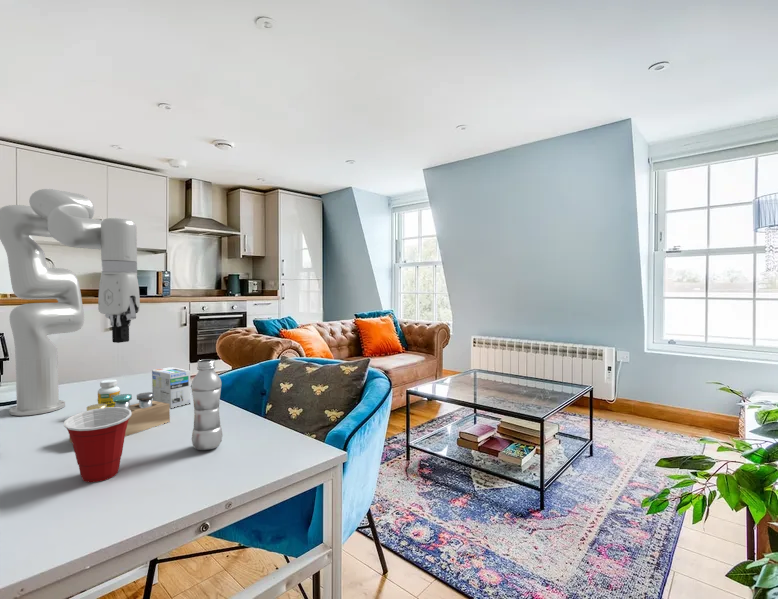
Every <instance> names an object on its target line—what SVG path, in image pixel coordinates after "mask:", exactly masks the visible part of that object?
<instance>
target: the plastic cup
mask: <svg viewBox="0 0 778 599" xmlns="http://www.w3.org/2000/svg"><path fill="white" fill-rule="evenodd" d="M131 415H132V413H131V410H129V409H127V408H121V407H106V408H99V409H92V410H89V411H87V410H85V411H81V412H79V413H75V414H74V415H72V416H70V417H68V418H66V419H65V420H64V421H63V427H64V428H65V429H66V430H67V432H68V434H70V437H71V439H72V443H71V444H72V447H73V450H74V454H75V459H76V464H77V465H78V469H79V473H80V477H81V479H82V481H83V482H85V483H98V482H103V481H105V480H109V479H111V478H113V477H115V476H117V474H118V473H119V470H120V465H121V459H122V456H123V450H124V444H125V437H126V436H125V432H126V429H127V424H128V420H129V418H130V417H131Z"/></svg>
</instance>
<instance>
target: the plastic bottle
mask: <svg viewBox="0 0 778 599" xmlns="http://www.w3.org/2000/svg"><path fill="white" fill-rule="evenodd" d="M215 361H216V360H215V359H207V358H206V359H201V360H200V359H199V360H197V366H196V370H198V371H197V373H196V375H195V376H194V377H193V379H192V381H191V383H190V389H191V393H192V394H191V396H192V400H193V408H194V409H193V413H194V414H193V415H194V416H193V428H192V432H191V444H192V446H193V448H194V449H195V450H197V451H208V450H213V449H216V448H218V447H219V446H220V445H221V443H222V441H223V440H222V439H223V436H224V434H223V428H222V425H221V416H220V403H221V402H220V401H221V400H220V399H221V392H222V379H221V377H220V376H219V375H218V373H217V372H216V371H215V369H216V362H215Z"/></svg>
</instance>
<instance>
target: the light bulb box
mask: <svg viewBox="0 0 778 599" xmlns="http://www.w3.org/2000/svg"><path fill="white" fill-rule="evenodd" d="M151 382H152V383H151V387H152V389H151V390H152V393H154V398H152V400H153V401H158V402H163V403H168V404H169V405H170V408H172V409H174V407H175V408H178V407H177V406H179V407H182V406H181V405H183V406H186V405H185V404H187V405H190V404H189V403H191V404H192V394H191V393H192V389H191V369H190V370H189V369H183V368H178V367H173V366H169V367H163V368H156V369H151Z"/></svg>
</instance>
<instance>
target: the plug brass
mask: <svg viewBox="0 0 778 599" xmlns="http://www.w3.org/2000/svg"><path fill="white" fill-rule="evenodd" d="M106 407H107V404H98V403H96V404H92V405H91V404H90V405H88V406H87V407H86V411H89V410H92V409H99V408H106Z"/></svg>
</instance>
